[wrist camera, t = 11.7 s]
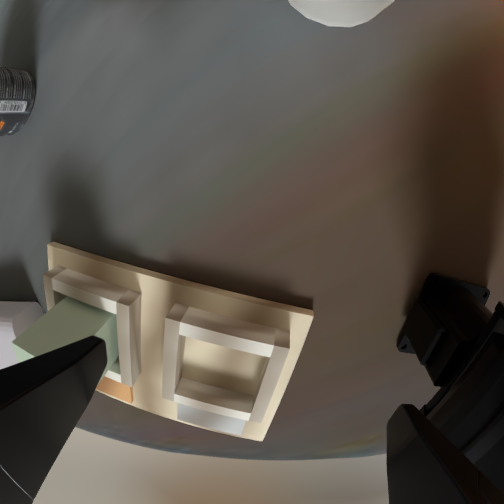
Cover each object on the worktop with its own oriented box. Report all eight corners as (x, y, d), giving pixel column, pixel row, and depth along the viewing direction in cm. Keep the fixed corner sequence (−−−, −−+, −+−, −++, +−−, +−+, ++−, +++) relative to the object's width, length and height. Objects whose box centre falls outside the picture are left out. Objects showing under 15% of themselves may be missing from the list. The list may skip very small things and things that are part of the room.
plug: (121, 306, 21) (61, 371, 13) (122, 350, 22) (75, 416, 15) (75, 289, 21) (11, 342, 13) (79, 333, 22) (27, 389, 15)
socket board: (312, 310, 20) (315, 333, 17) (263, 435, 25) (260, 457, 22) (53, 241, 21) (31, 252, 18) (71, 372, 26) (58, 388, 23)
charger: (-22, 298, 25) (39, 298, 23) (5, 357, 28) (73, 373, 26) (-45, 313, 21) (8, 321, 19) (-14, 376, 24) (51, 400, 22)
